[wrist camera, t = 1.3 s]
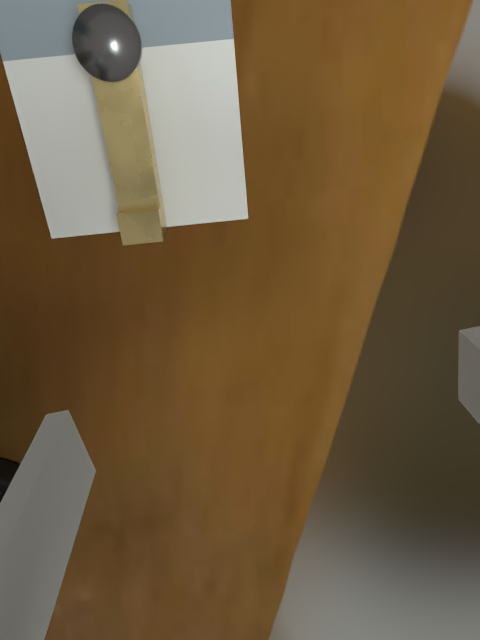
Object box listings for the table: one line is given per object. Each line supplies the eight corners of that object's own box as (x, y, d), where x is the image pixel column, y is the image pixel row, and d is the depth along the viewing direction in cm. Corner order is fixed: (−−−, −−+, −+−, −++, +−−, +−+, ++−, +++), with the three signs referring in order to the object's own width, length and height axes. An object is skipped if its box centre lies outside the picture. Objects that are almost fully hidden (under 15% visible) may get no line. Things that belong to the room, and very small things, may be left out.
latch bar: (77, 11, 26) (62, 1, 24) (140, 5, 26) (132, -5, 24) (123, 233, 32) (114, 246, 29) (174, 228, 32) (171, 240, 29)
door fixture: (58, 232, 34) (38, 250, 30) (-58, -200, 24) (-111, -260, 20) (246, 213, 34) (251, 228, 30) (210, -225, 24) (210, -288, 20)
